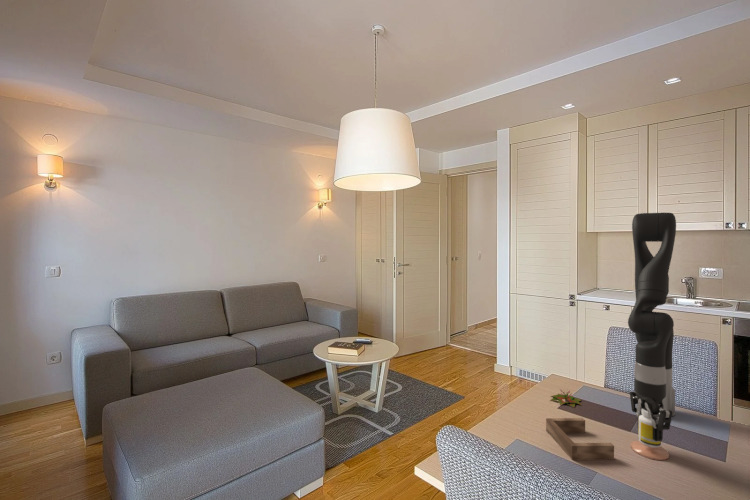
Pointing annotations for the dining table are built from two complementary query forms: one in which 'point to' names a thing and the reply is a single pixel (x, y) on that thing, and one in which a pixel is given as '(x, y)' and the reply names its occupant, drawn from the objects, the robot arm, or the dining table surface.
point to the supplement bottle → (646, 430)
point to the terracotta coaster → (649, 451)
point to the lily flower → (566, 397)
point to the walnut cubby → (577, 450)
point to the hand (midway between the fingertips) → (649, 434)
